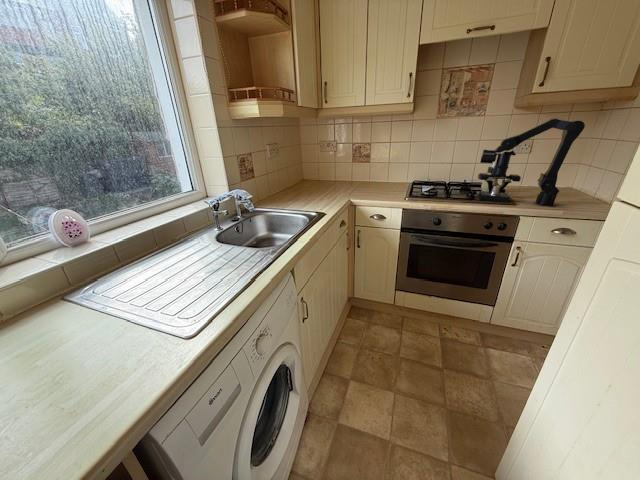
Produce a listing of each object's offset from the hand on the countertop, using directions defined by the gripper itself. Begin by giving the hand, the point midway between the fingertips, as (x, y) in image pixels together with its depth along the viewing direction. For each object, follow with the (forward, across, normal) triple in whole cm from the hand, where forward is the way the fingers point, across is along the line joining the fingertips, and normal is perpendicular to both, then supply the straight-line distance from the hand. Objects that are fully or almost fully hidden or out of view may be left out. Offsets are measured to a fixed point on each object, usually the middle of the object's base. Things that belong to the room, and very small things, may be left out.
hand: (494, 193), depth 144 cm
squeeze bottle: (+4, 0, -16) cm, 16 cm away
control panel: (+4, 0, 0) cm, 4 cm away
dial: (0, 0, 0) cm, 0 cm away
